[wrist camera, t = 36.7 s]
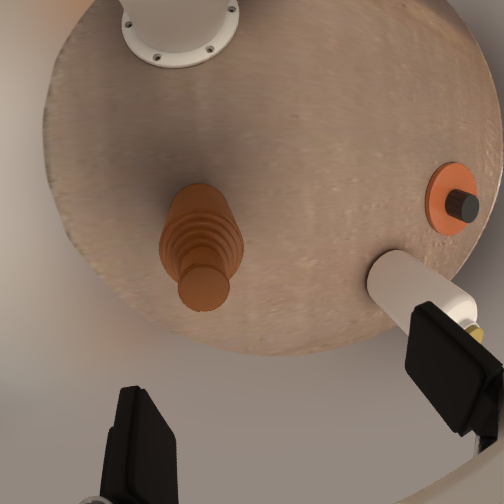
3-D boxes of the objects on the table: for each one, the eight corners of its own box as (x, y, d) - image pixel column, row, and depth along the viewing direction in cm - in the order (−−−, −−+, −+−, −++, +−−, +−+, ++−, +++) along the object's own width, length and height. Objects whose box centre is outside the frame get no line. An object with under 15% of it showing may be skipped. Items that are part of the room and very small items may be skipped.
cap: (450, 221, 40) (467, 229, 37) (441, 201, 38) (458, 208, 35) (465, 203, 39) (482, 210, 36) (456, 183, 38) (473, 188, 35)
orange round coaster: (442, 148, 37) (447, 149, 36) (480, 183, 40) (484, 184, 39) (413, 217, 40) (418, 218, 39) (455, 243, 43) (459, 245, 42)
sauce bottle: (181, 175, 33) (164, 220, 16) (236, 194, 35) (277, 255, 18) (163, 230, 35) (137, 321, 18) (216, 246, 36) (237, 346, 19)
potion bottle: (367, 309, 44) (438, 389, 27) (359, 260, 40) (444, 335, 24) (412, 287, 44) (489, 352, 27) (408, 239, 41) (500, 296, 24)
